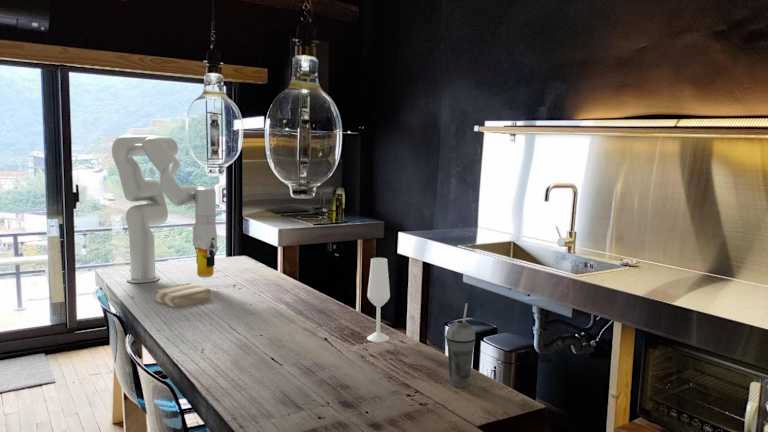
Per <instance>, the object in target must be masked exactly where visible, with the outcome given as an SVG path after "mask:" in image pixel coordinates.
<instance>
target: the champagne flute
mask: <svg viewBox="0 0 768 432" xmlns="http://www.w3.org/2000/svg"><path fill="white" fill-rule="evenodd" d="M369 266H370V267H369V277H368V285H367V293H366V294H367V295H366V296H367V298H368V301H369V302H370V303H371V304H372V305H374V307H376V321H375V322H376V323H375V325H376V328H375V329H376V331H375V332H374V333H372V334H370V335H368V336H367V337H366V339H367V340H368V341H370V342H373V343H383V342H387V341H389V340H390V337H389V336H388V335H386V334H385V333H382V332H381V307H383V306H384V305H385V304H386V303H387V302H388V301H389V299H390V297H391V292H390V279H389V266H388V259H387V258H385V257H373V258H370V265H369Z"/></svg>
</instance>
